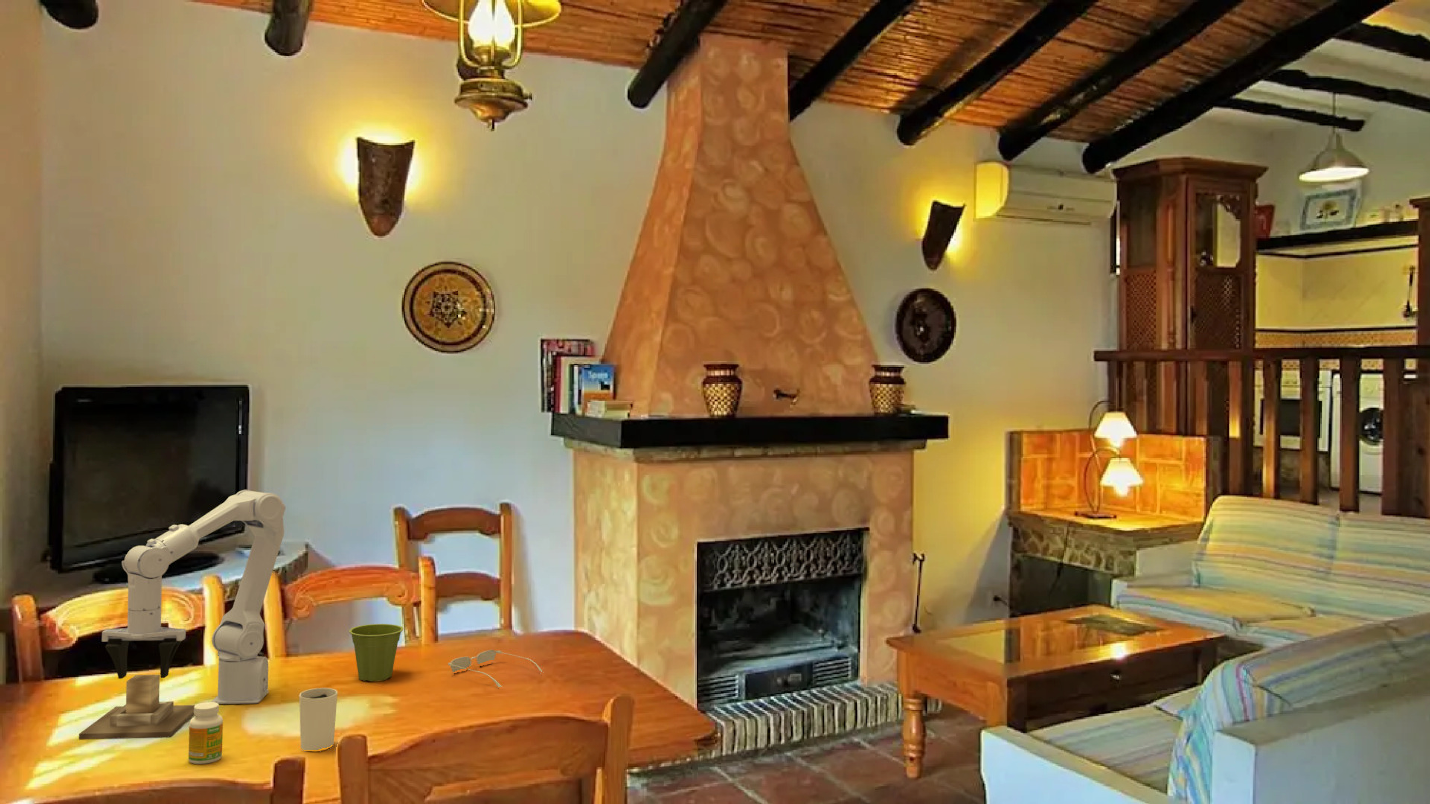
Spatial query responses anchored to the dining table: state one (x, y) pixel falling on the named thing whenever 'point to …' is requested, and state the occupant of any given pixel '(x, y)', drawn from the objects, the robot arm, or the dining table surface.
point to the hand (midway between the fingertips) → (143, 677)
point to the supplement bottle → (205, 734)
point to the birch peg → (142, 694)
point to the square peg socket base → (140, 722)
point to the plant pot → (375, 650)
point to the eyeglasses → (482, 657)
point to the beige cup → (317, 718)
